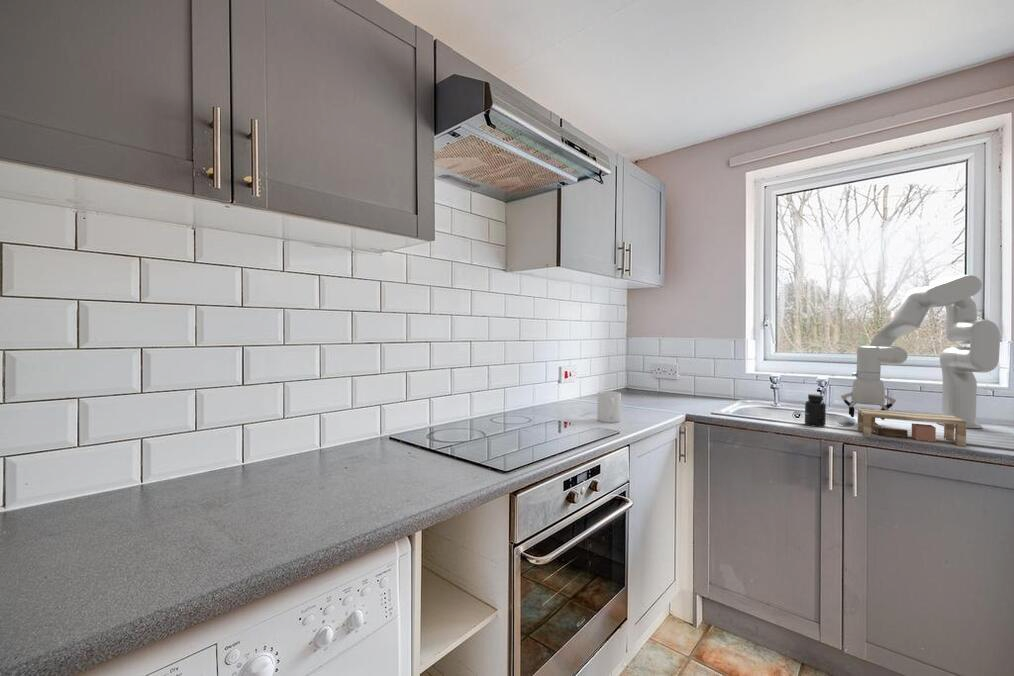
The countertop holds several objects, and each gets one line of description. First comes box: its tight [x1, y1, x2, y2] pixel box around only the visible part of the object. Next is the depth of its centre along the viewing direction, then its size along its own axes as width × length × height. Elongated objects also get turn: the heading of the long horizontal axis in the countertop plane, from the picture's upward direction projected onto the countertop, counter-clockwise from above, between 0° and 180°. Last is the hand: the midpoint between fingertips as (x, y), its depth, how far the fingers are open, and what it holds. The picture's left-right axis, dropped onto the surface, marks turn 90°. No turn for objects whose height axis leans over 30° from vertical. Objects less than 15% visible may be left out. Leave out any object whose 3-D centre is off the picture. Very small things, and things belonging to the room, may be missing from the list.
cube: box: [911, 422, 937, 442], centre depth 151 cm, size 5×5×5 cm
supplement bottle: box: [804, 393, 827, 427], centre depth 174 cm, size 7×7×12 cm
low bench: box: [857, 408, 967, 447], centre depth 153 cm, size 12×26×8 cm, turn 60°
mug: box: [596, 390, 622, 424], centre depth 178 cm, size 10×12×12 cm
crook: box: [860, 407, 909, 438], centre depth 167 cm, size 26×9×6 cm, turn 150°
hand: (867, 418), depth 177 cm, fingers open, 9 cm apart
